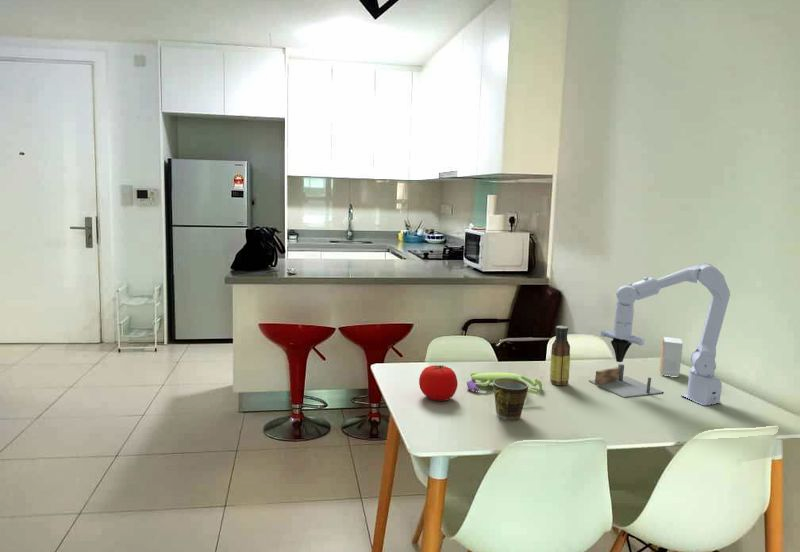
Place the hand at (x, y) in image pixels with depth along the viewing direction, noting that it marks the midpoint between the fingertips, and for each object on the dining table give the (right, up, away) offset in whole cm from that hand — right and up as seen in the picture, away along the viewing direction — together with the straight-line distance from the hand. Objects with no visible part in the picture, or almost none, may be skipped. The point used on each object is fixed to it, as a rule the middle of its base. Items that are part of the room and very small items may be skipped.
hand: (619, 361), depth 209 cm
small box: (+25, -8, +20) cm, 33 cm away
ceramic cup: (-43, -12, -30) cm, 54 cm away
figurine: (-40, -9, -6) cm, 41 cm away
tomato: (-62, -9, -17) cm, 65 cm away
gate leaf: (-3, -8, +5) cm, 10 cm away
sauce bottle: (-20, -8, +4) cm, 22 cm away
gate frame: (+3, -9, +3) cm, 10 cm away
